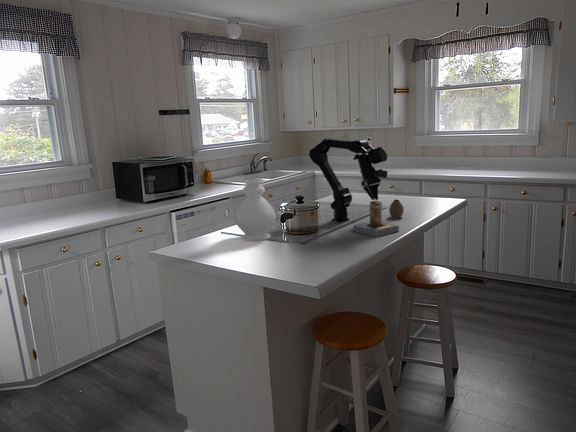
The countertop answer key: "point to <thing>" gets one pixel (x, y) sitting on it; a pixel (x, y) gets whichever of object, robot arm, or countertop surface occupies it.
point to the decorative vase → (255, 213)
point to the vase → (396, 209)
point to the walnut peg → (375, 214)
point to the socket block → (376, 229)
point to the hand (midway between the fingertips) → (375, 199)
